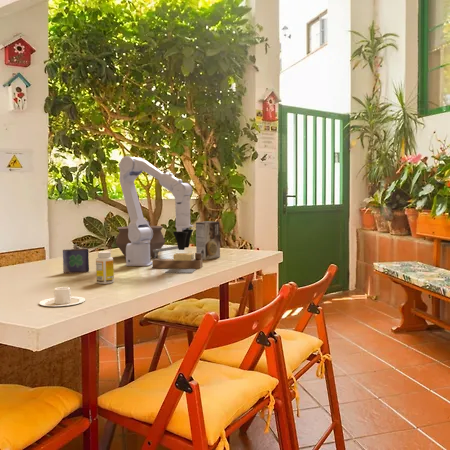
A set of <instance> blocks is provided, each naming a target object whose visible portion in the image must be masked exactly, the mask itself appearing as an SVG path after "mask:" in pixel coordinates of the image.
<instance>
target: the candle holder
mask: <svg viewBox="0 0 450 450" xmlns="http://www.w3.org/2000/svg"><path fill="white" fill-rule="evenodd" d="M53 295H54V297H51V298H46V299H41V301H39V303H38V305H41V306H44V307H52V308H53V307H68V306H74V305H78V304H81V303H84V302H85V301H86V298H85V297H81V296H71V287H69V286H61V287H60V286H58V287H55V288H54V290H53ZM52 300H53V301H54V304H47V303H48V301H49V302H52ZM72 300H77V302H74V303H73V302H72ZM71 302H72V303H71Z"/></svg>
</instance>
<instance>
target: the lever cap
mask: <svg viewBox="0 0 450 450" xmlns="http://www.w3.org/2000/svg"><path fill="white" fill-rule="evenodd" d="M172 258H173V259H174V261H191V260H193V259H195V254H194V253H192V252H191V253H189V252H186V253H183V252H182V253H180V252H179V253H175V254H173V257H172Z"/></svg>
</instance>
